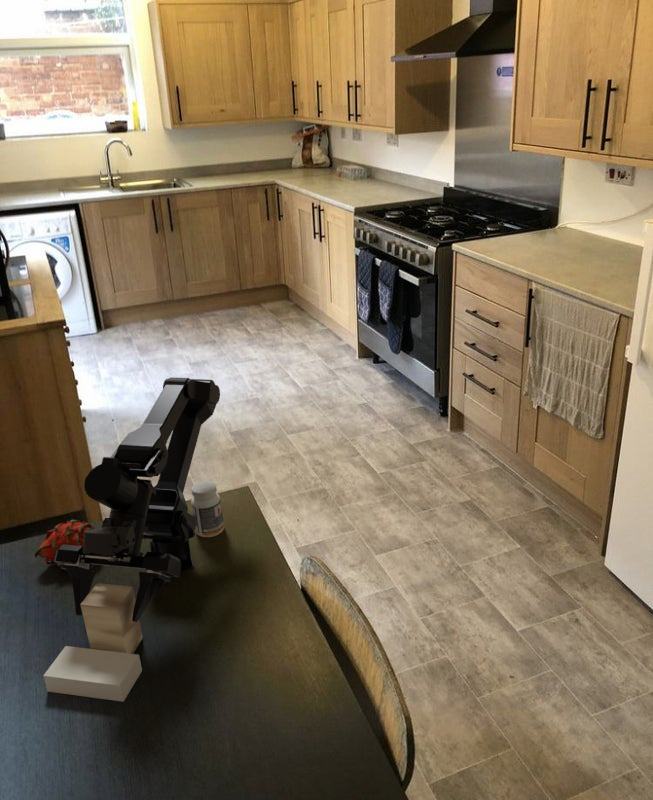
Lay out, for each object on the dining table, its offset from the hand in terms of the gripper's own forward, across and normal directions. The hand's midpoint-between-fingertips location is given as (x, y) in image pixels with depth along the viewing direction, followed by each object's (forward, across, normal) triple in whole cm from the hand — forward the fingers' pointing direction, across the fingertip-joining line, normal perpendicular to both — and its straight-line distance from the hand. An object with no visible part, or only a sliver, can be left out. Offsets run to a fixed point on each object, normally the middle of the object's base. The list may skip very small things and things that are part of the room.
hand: (106, 618), depth 105 cm
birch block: (+4, 0, +6) cm, 7 cm away
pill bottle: (-19, +3, +29) cm, 35 cm away
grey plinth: (+9, 0, +1) cm, 9 cm away
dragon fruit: (-10, -20, +20) cm, 30 cm away
